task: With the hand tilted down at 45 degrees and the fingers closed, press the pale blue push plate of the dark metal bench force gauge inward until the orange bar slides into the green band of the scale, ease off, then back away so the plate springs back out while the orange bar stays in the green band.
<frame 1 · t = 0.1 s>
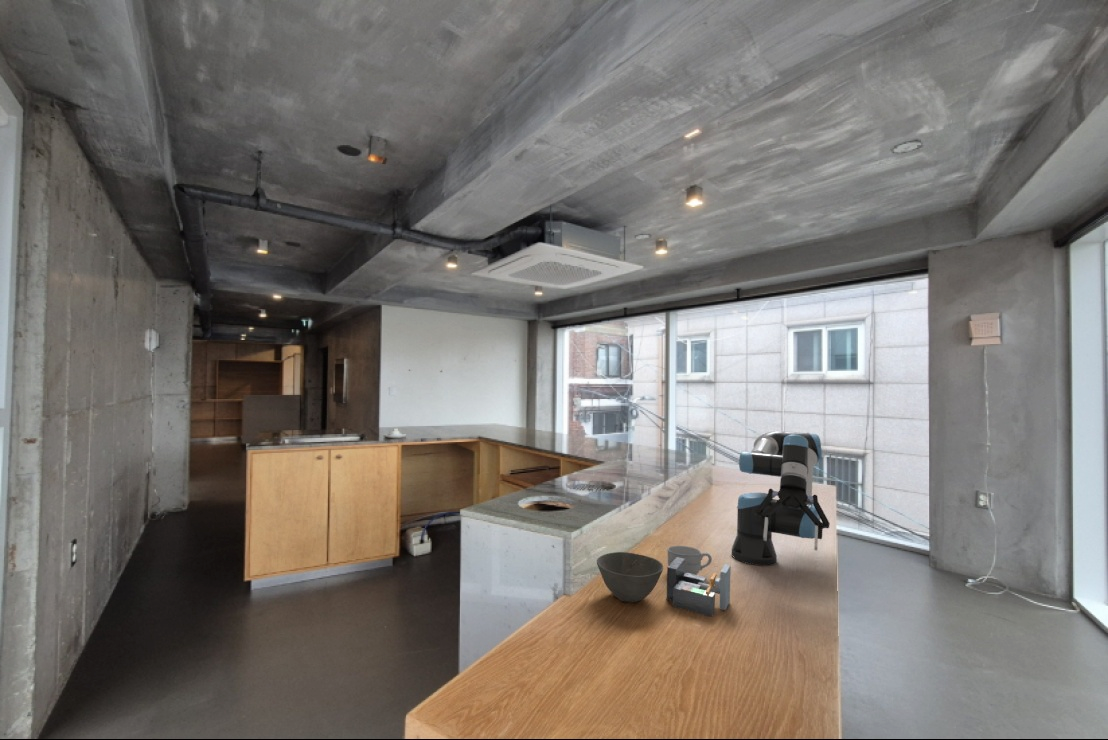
hand: (789, 544, 139), 15 cm above the table, tool tilted 35°, fingers open, 13 cm apart
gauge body: (705, 601, 133), on the table
orange bar: (711, 583, 130), point 6 cm above the table, slide at 0.0 cm
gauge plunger: (713, 583, 132), point 5 cm above the table, slide at 0.0 cm
bowl: (628, 598, 134), on the table
teacup: (688, 575, 152), on the table
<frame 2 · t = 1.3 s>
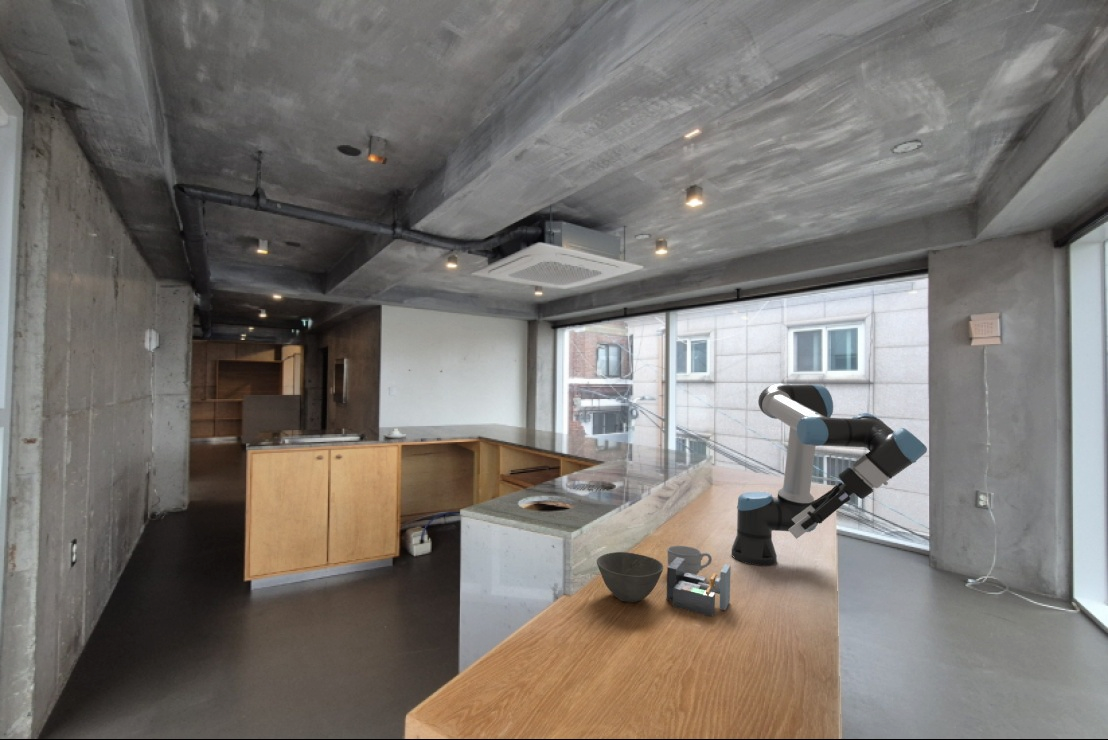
hand: (793, 528, 125), 24 cm above the table, tool tilted 45°, fingers open, 12 cm apart
nothing on the table moved.
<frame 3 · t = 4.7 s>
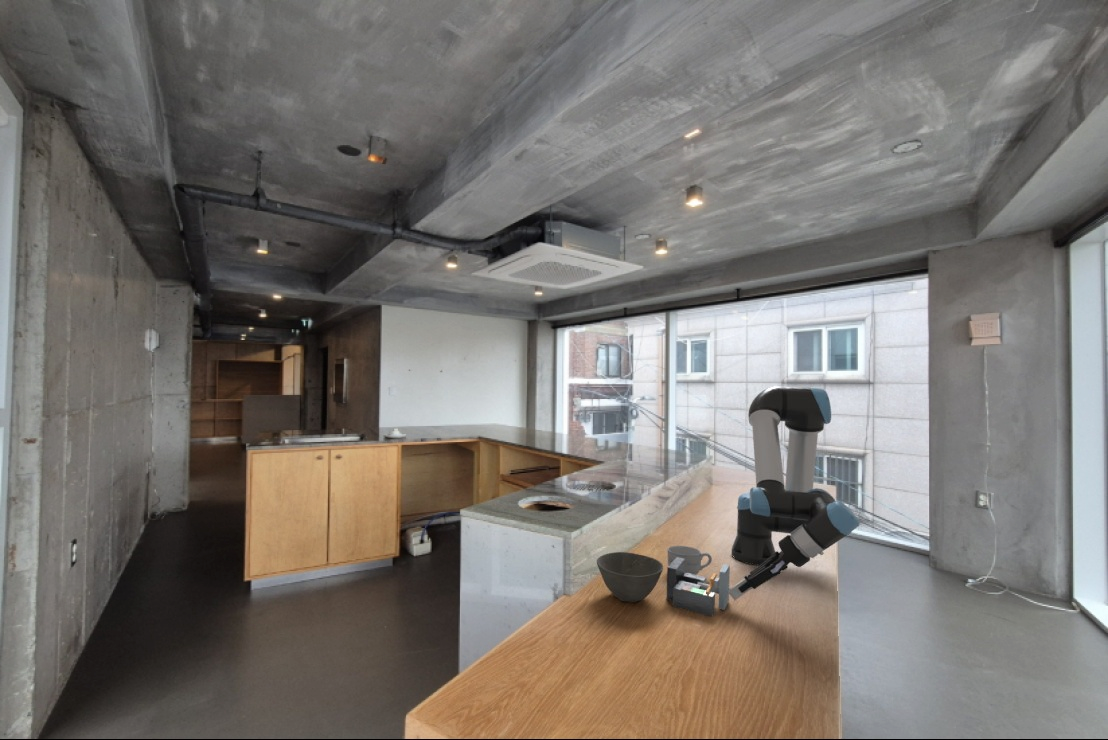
hand: (731, 595, 130), 4 cm above the table, tool tilted 45°, fingers closed
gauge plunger: (712, 583, 133), point 5 cm above the table, slide at 0.3 cm, touching gripper
everything else where it was.
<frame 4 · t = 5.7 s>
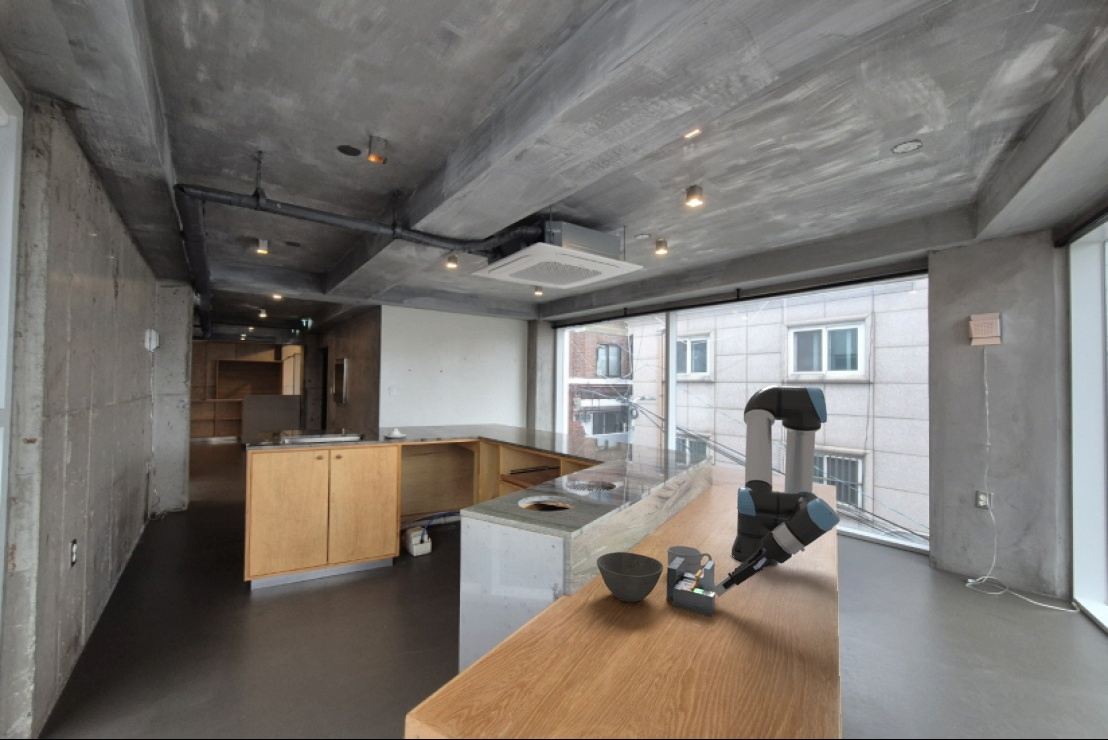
hand: (716, 591, 132), 4 cm above the table, tool tilted 45°, fingers closed
orange bar: (696, 580, 132), point 6 cm above the table, slide at 4.1 cm, touching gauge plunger
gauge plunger: (697, 579, 135), point 6 cm above the table, slide at 4.4 cm, touching gripper, orange bar
everything else where it was.
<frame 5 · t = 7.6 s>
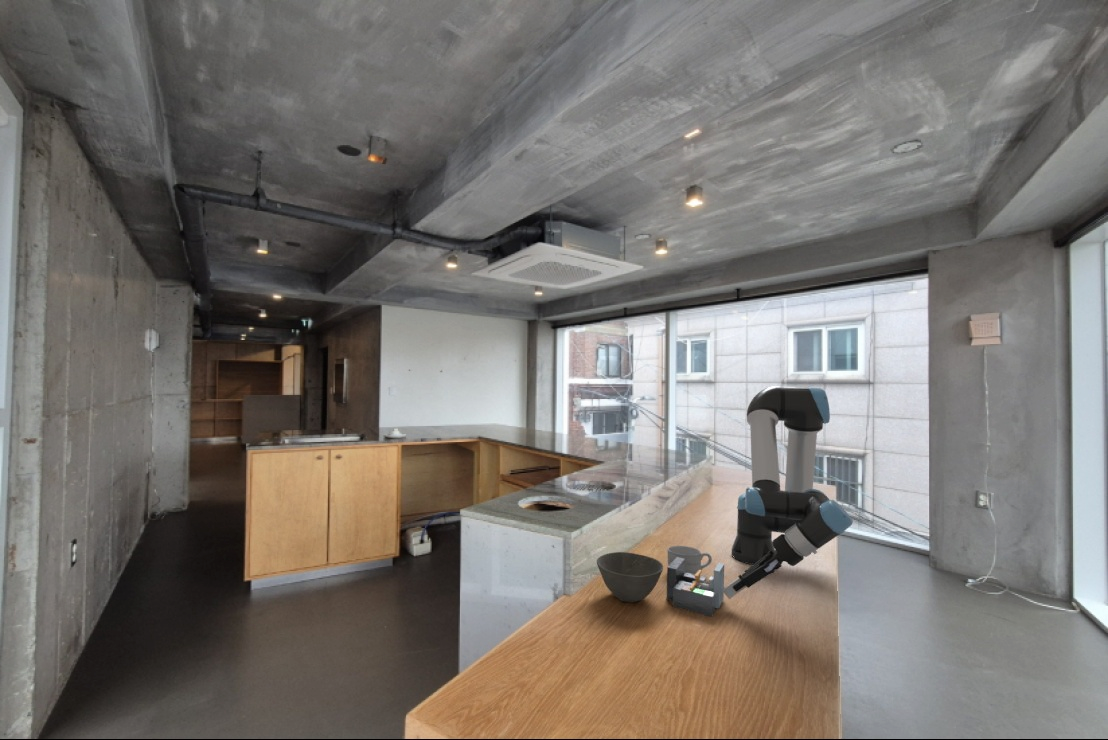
hand: (726, 593, 131), 4 cm above the table, tool tilted 45°, fingers closed
orange bar: (695, 580, 132), point 6 cm above the table, slide at 4.2 cm
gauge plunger: (707, 582, 133), point 6 cm above the table, slide at 1.7 cm, touching gripper
everything else where it was.
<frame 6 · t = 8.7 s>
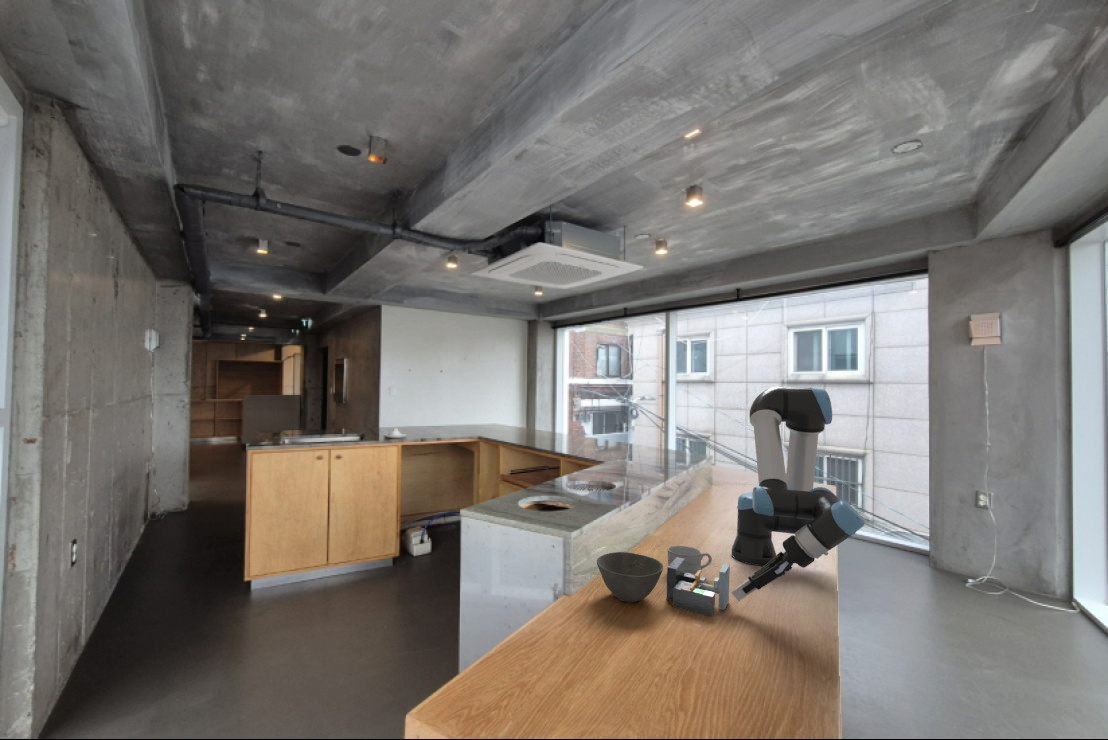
hand: (735, 596, 129), 4 cm above the table, tool tilted 45°, fingers closed
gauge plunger: (712, 583, 133), point 6 cm above the table, slide at 0.3 cm
everything else where it was.
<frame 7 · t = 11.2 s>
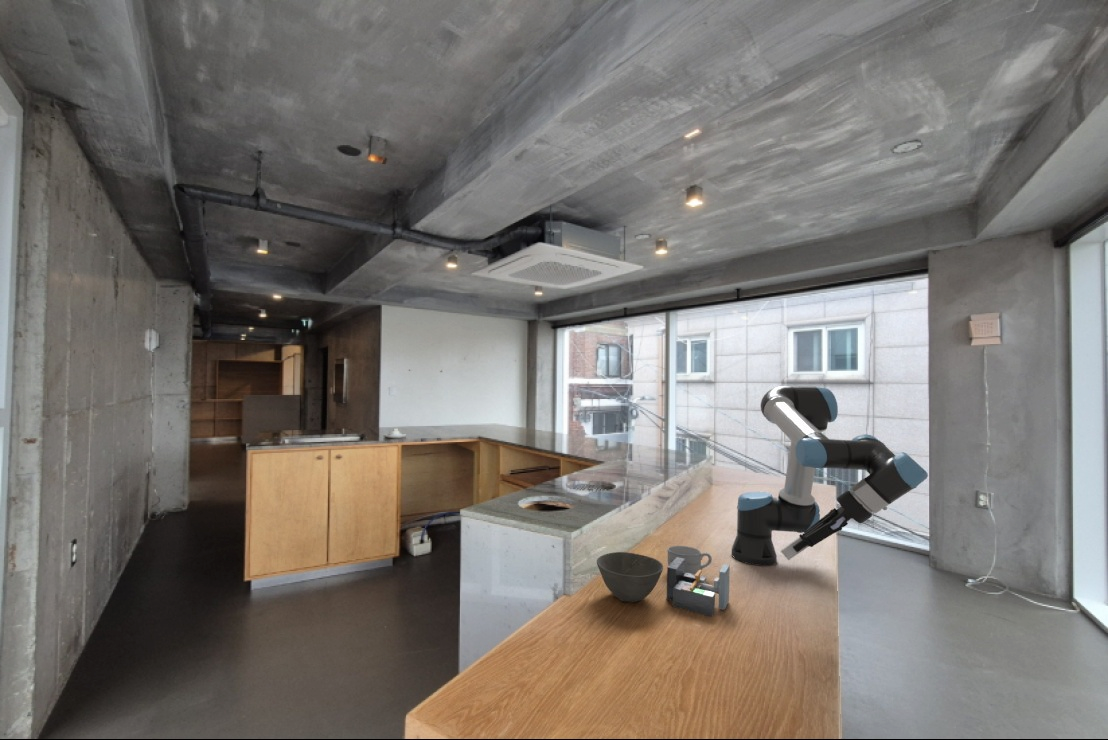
hand: (784, 554, 124), 17 cm above the table, tool tilted 45°, fingers closed
nothing on the table moved.
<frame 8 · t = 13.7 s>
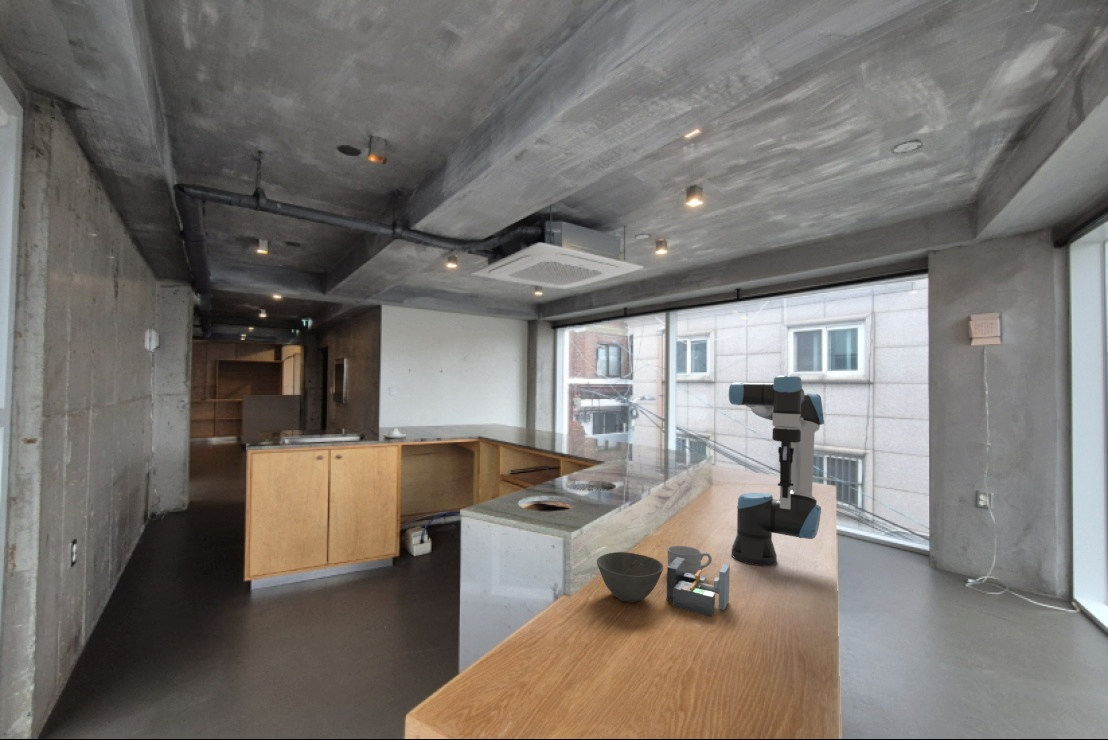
hand: (785, 508, 138), 26 cm above the table, tool pointing down, fingers closed
nothing on the table moved.
at the end: orange bar slide at 4.2 cm; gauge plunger slide at 0.3 cm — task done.
